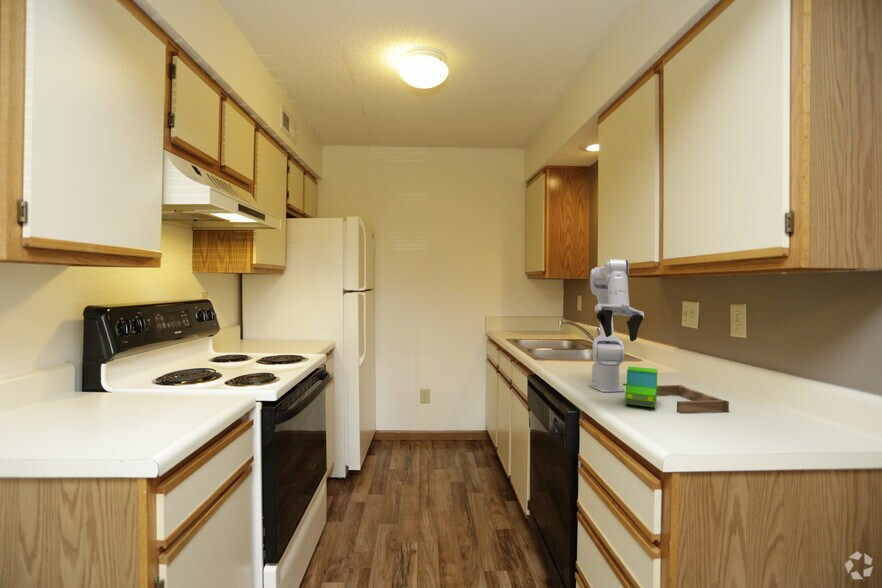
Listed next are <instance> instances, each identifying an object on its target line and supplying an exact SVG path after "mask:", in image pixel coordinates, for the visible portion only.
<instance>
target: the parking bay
mask: <svg viewBox="0 0 882 588" xmlns="http://www.w3.org/2000/svg"><path fill="white" fill-rule="evenodd" d="M657 387H660V389H657V397H661V396H662V397H663V396H664V397H667V396H669V395H673V396H678V397H681V398H685V399H687V400H681V401H680V400H679V401H678V400H677V401H676V413H678V412H679V413H678V414H699V413H698V412H711V413H729V412H730V406H729V405H730V401H729V400H726V399H722V398H718V397H715V396H713V395H709V394H707V393H704V392H701V391H698V390H695V389H693V388H690V387H686V386H685V385H682V384H671V385H670V384H668V385H658V384H657Z"/></svg>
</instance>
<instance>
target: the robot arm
mask: <svg viewBox="0 0 882 588" xmlns="http://www.w3.org/2000/svg"><path fill="white" fill-rule="evenodd" d="M629 263H630V262H629V260H628V259H618V258H611V259H608V260H607V261H605V264H604V265H602V266H596V267H594V268H592V269H591V270H590V275H589V277H590V278H589V281H590V282H589V283H590V290H591V294H592V295H594V296H596V300H597V304H595V305H594V312H595V313H597V314H596V318H597V320H598V321H599V322H598V323H599V335H597V336H596V337H595V338H594V339H593V341H592V349H591V351H592V352H591V353H592V360H593V361H594V363H593V364H592V368H591V383H589V386H590V387H592V388H594V389H595V390H598V391H600V392H603V393H612V392H613V393H614V392H615V393H616V392H618V393H619V392H620V393H621V392H625V390H624V389H622V388H620V387H619V384H620V366H621V364H622V363H623V362H624V361H625V357H626V355H625V354H626V352H625V347H624V341H623V340H622V339H621V338H620V337H618V336H617V335H616V334H615V330H614V319H613V316H622V317H627V318H628V319H629V320H626V325H627V328H628V329H627V330H628V334H629V335H628V336H629V341H630V342H635V341H636V340H637V337H638V333H639V329H640V326H641V324H642V322H643V320H644V318H645V312H644V311H641V310H639V309H637V308H633V307H632V306H630V296H629V295H630V294H629V282H628V281H629V279H628V277H629V272H630V264H629Z"/></svg>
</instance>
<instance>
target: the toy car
mask: <svg viewBox="0 0 882 588" xmlns="http://www.w3.org/2000/svg"><path fill="white" fill-rule="evenodd" d="M622 386H624V387H625V395H624V396H625V398H624V399H625V403H624V404H625V406H631V405H633V406H643V407H649V408H650V409H653V410H655V409H656V405H657V397H658V396H657V389H660V387H657V386H658V368H652V367H651V368H649V367H640V366H630V365H629V366H628V367H627V370H626V383H625V382H623V383H622Z"/></svg>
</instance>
